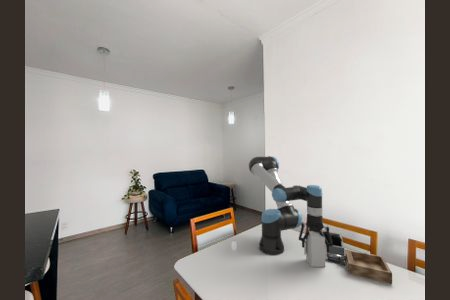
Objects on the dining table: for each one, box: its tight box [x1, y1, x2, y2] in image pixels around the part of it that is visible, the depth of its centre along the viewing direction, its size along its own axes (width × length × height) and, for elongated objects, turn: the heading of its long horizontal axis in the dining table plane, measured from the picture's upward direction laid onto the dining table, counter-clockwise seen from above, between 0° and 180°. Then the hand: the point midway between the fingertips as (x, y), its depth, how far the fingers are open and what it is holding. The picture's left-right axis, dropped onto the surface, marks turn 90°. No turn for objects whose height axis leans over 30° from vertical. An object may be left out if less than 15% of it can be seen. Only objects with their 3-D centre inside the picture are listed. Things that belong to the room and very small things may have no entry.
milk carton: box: [305, 227, 326, 268], centre depth 102 cm, size 7×7×19 cm
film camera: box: [323, 232, 343, 247], centre depth 120 cm, size 15×10×9 cm, turn 70°
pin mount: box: [327, 253, 346, 266], centre depth 103 cm, size 8×6×4 cm
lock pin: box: [327, 253, 346, 262], centre depth 103 cm, size 10×4×4 cm, turn 63°
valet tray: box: [322, 230, 345, 256], centre depth 120 cm, size 16×20×5 cm
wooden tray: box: [344, 248, 393, 285], centre depth 95 cm, size 16×15×5 cm
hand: (315, 255), depth 101 cm, fingers closed on milk carton, 9 cm apart
